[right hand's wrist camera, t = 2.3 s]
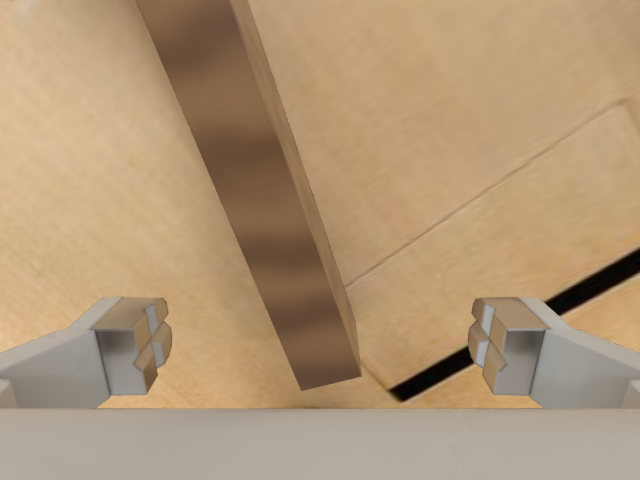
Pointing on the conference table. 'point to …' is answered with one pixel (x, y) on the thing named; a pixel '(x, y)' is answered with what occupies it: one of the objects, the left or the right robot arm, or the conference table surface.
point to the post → (258, 178)
